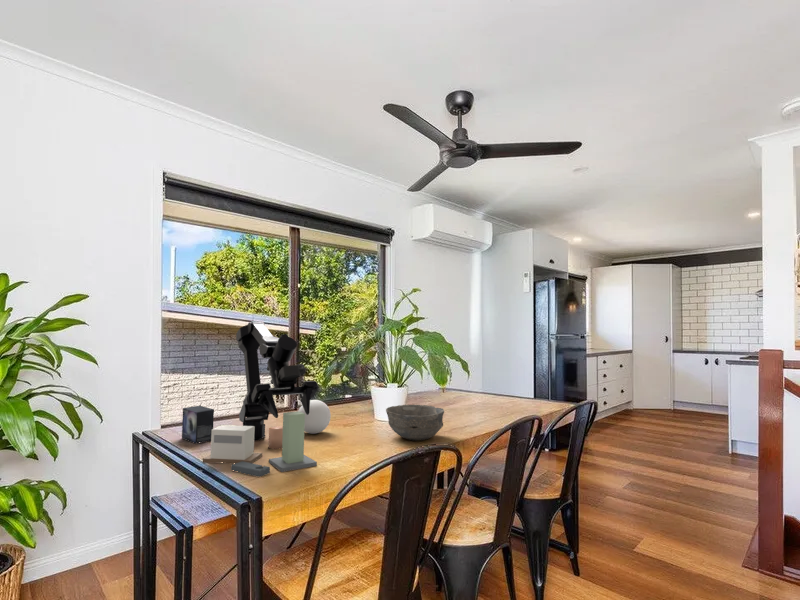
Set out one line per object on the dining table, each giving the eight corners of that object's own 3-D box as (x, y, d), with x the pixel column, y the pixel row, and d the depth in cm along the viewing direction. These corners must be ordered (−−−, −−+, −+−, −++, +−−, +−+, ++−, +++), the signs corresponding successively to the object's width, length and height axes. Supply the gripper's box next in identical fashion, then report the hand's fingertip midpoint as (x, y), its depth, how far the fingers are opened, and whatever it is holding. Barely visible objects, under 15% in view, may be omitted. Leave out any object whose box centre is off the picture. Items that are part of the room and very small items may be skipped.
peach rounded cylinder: (265, 448, 139) (266, 429, 139) (272, 444, 144) (272, 425, 144) (281, 449, 138) (281, 429, 139) (286, 445, 143) (287, 426, 144)
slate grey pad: (268, 462, 124) (268, 458, 124) (302, 457, 130) (302, 453, 130) (281, 472, 116) (281, 468, 116) (316, 465, 122) (316, 461, 122)
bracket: (242, 468, 120) (242, 460, 120) (270, 474, 115) (270, 466, 115) (230, 472, 117) (230, 464, 117) (259, 478, 112) (259, 470, 112)
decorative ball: (331, 429, 167) (332, 397, 167) (328, 437, 155) (329, 402, 156) (299, 429, 166) (300, 397, 167) (294, 437, 154) (295, 402, 155)
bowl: (377, 442, 148) (378, 412, 149) (394, 429, 168) (394, 403, 169) (438, 447, 143) (438, 416, 143) (448, 433, 162) (448, 406, 163)
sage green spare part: (281, 459, 123) (283, 412, 124) (296, 457, 126) (298, 411, 127) (288, 463, 120) (289, 415, 121) (303, 461, 123) (304, 413, 123)
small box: (180, 438, 150) (181, 407, 151) (198, 435, 155) (200, 405, 156) (194, 444, 143) (196, 411, 144) (213, 440, 148) (215, 408, 149)
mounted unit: (202, 462, 124) (203, 429, 124) (217, 454, 132) (218, 423, 132) (250, 464, 122) (251, 431, 123) (262, 456, 130) (263, 425, 131)
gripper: (256, 355, 124) (268, 400, 115) (317, 354, 135) (332, 395, 126) (246, 380, 130) (257, 425, 121) (305, 377, 141) (319, 418, 131)
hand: (293, 415), depth 124 cm, fingers open, 9 cm apart
